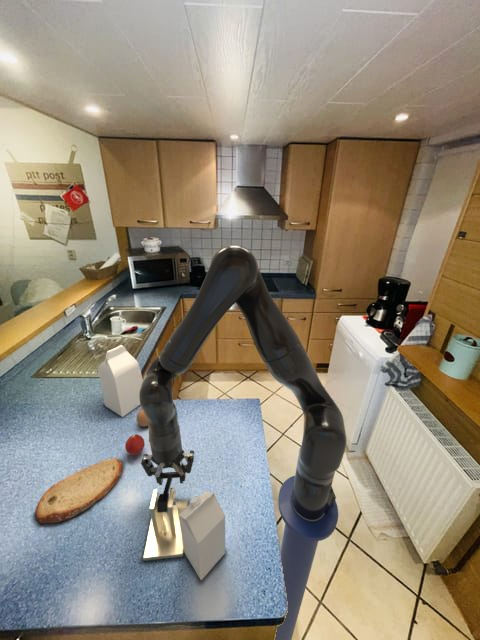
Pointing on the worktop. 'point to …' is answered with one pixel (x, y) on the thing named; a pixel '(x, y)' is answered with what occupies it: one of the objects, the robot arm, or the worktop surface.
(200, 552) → the milk carton
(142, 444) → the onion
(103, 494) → the slice of bread
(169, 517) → the switch bracket
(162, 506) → the switch lever
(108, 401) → the milk
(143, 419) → the egg
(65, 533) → the worktop surface
